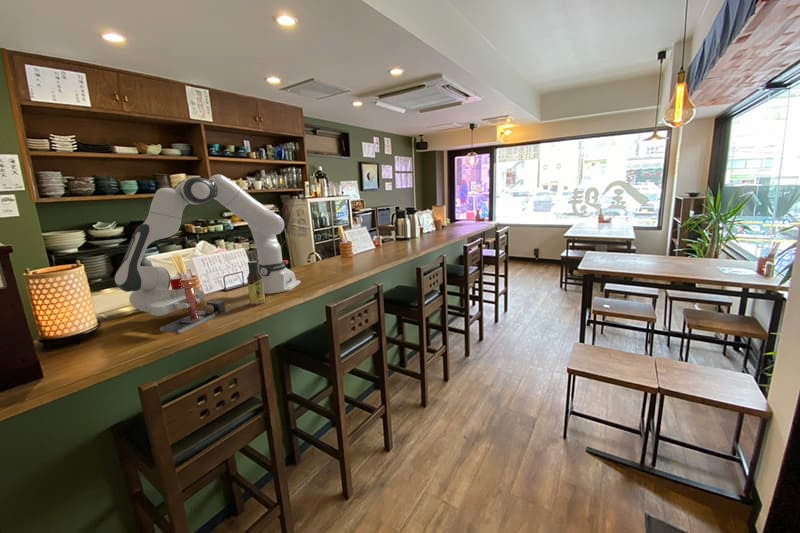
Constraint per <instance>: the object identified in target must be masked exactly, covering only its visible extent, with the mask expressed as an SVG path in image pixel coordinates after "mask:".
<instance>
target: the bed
mask: <svg viewBox="0 0 800 533" xmlns="http://www.w3.org/2000/svg"><path fill="white" fill-rule="evenodd" d="M206 305H212V306H213V307H214V312H213V313H211V314H210V315H208V314H205V315H203V316H201V317H205V318H203V319H201V320H198V321H196V322H194V323H192V324H191V323H181V320H182V319H184V318H187V317H189V315H187V316H183V317H181V318H180V319H178V320H175V321H173V322H170V323H168V324H166V325H163V326H161V327H159V331H160V332H163V333H174V334H183V333H185V332H188V331H190V330H191V329H193V328H195V327H198V326H200V325H202V324H204V323H206V322H208V321H210V320H213V319H215V318H216V317H218V316H221V315H223V314H225V313H227V312H230V311H231V309H227V308H225V301H224V300H215V299H214V300H209V301H207V302H206Z"/></svg>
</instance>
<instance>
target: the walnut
mask: <svg viewBox="0 0 800 533" xmlns="http://www.w3.org/2000/svg"><path fill="white" fill-rule="evenodd" d="M202 311H205V314H208V315H210V314H211V313H213V312H214V307H213V306H212V305H207V304H206V305H204V307H203V309H202Z"/></svg>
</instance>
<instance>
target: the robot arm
mask: <svg viewBox="0 0 800 533" xmlns="http://www.w3.org/2000/svg"><path fill="white" fill-rule="evenodd" d="M212 199H213V200H216V201H217V202H218V203H220V204H221V205H222V206H223V207H225V208H226V209H227V210H229V211H230V212H231V213H232V214H234V215H235V216H236V217H237V218H239V219H241V220H243V221H244V222H245V223H247V225H248V228H249V229H250V232H251V235H252V238H253V239H252V240H253V241H254V244H255V247H256V251H257V252H256V253H257V260H258V270H259V273H260V275H261V277H262V279H263V287H264V295H266V294H267V295H269V294H276V293H282V292H290V291H292V290H293V289H294V288H296V287H297V286H298V285H299V284H301V280H299V279H296V275H295V274H296V273H295V272H294V271H292V270H290V269H289V268H287V267H286V265H288V264H289V260H285V259H283V255H282V247H281V245H280V244H281V243H279V241H278V237H277V235H279V234H281V233H282V232H283V230H284V229H285V221H284V219H283V218H282V217H281V216H280V215H279V214H277V213H276V212H275V211H272V210H271V209H270V208H268V207H267V206H266V205H264V204H263V203H261V202H259V201H258V200H256V199H255V198H254V197H252V196H251V195H250V194H249V193H248V192H247V191H245V190H244V189H243V188H242V187H240V186H239V185H238V184H237V183H235V182H234V181H233V180H231V179H229V178H228V177H226V176H225V175H224V174H223V175H222V174H214V175H212V176H210V177H209V178H204V177H198V176H193V177H192V176H191V177H190V176H189V177H187V178H185V179H184V178H183V180H181V181H179V182H178V183H177V184H176V185H175V186H174V187H160V188H158V189H157V190H156V191H155V194H154V196H153V198H152V201H151V204H150V207H149V212H148V216H147V217H146V219H145V221H144V222H143V223H142V224H140V225H138V226H137V227H136V228H135V230H134V232H133V234H132V237H131V239H130V242H129V244H128V247H127V248H126V252H125V254H124V256H123V260H122V262H121V264H120V265H119V267H118V268H117V270H116V272H115V274H114V276H113V277H114V283H115V285H116V286H117V287H118V288H119V289H120V290H122V291H123V292H125V293H128V292H129V293H130V292H131V293H130V294H129V299H128V300H129V303H130V305H131V306H132V307H134V308H135V309H138V310H139V311H140V310H144V311H143V312H145V313H149V315H152V316H157V317H159V316H160V317H161V316H165V315H169V314H171V313H172V312H176V311H177V310H181V309H188V307H190V303H188V302H187V301H186V296H185V291H184V288H179V289H174V290H172V289H170V286H171V278H172V277H171V274H170V273H169V271H168V270H167V269H166V268H165V267H162V266H153V265H149V266H146V265H145V266H144V265H141V264H142V261H143V257H144V256H145V253H146V250H147V249H148V247H149V245H150V244H152V243H153V242H155V241H158V240H162V239H166V238H169V237H172V236H173V235H175V234H177V233H178V232H179V230H180V228H181V224H182V218H183V214H184V213H183V212H184V210H185V207H186V206H187V205H202V204H205V203H208V202H209V201H212ZM150 266H151V267H150ZM152 266H153V267H152ZM193 289H194V288H193ZM194 295H195V300H196V305H198V304H200V303H201V301H204V300H205V293H204V291H203V290H201V289H196V288H195V289H194Z"/></svg>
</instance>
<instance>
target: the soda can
mask: <svg viewBox="0 0 800 533" xmlns="http://www.w3.org/2000/svg"><path fill="white" fill-rule="evenodd" d="M178 276H179V275H177V276H173V277H170V278H171V282H170V286H171V290H174V289H179V288H181V282H179V281H180V280H181V279H182V277H181V278H178Z"/></svg>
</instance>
